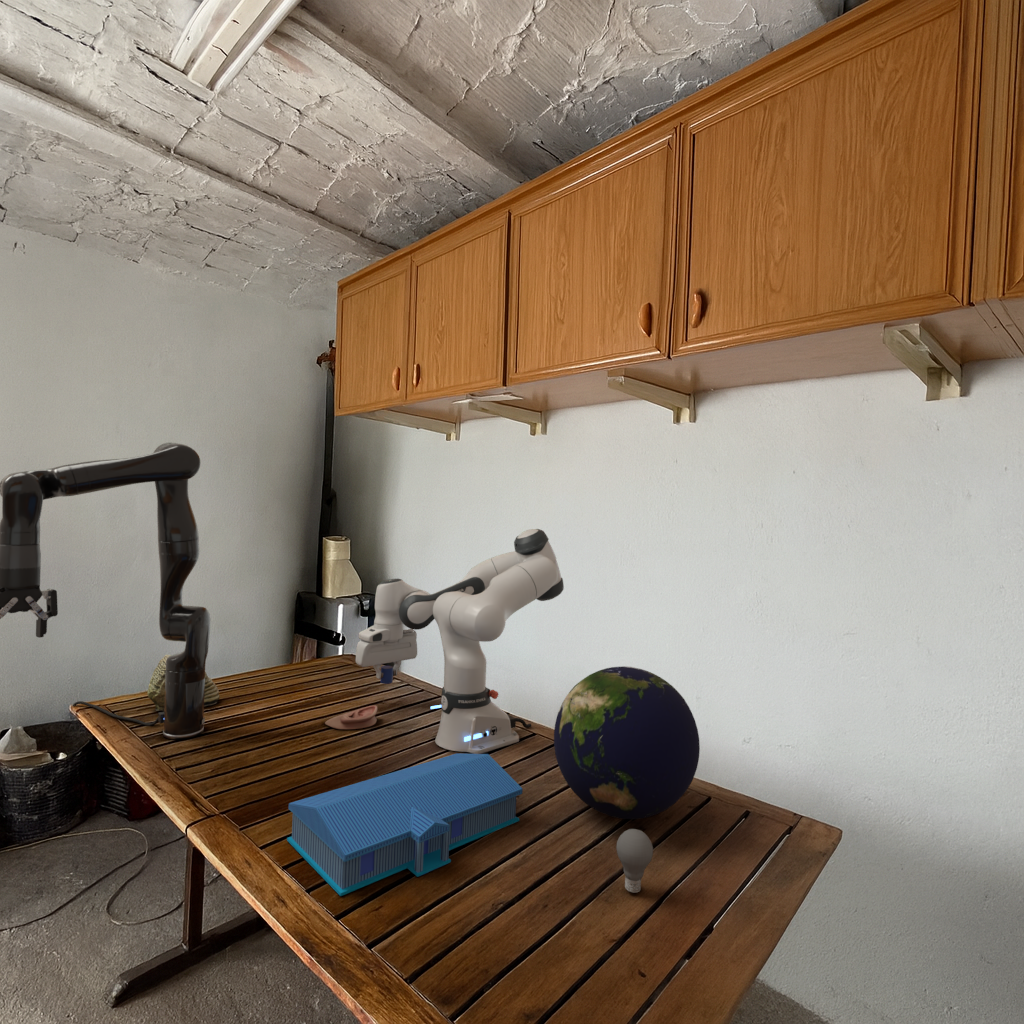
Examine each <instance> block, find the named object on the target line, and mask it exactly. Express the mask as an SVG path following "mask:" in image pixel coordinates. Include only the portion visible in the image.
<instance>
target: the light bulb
mask: <svg viewBox="0 0 1024 1024" xmlns="http://www.w3.org/2000/svg"><path fill="white" fill-rule="evenodd" d="M615 849H616V854H617V857H618V859H619V861H620V863H621V865H622V867H623V873H624V874H623V875H624V876H625V878H624V888H625V890H627V891H628V892H630V893H634V894H635V893H639V892H640V891H641V889H642V887H641V886H642V879H643V877H644V875H645V871H646V868H647V867H648V866H649V864H650V863H651V861H652V859H653V855H654V847H653V843H652V841H651V838H649V836H648V835H647V834H646V833H645V832H643V831H642V830H641V829H636V828H629V829H627V830H625V831H623V832H622V833H621V834H620V835H619V837H618V839H617V841H616V847H615Z"/></svg>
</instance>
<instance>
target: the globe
mask: <svg viewBox="0 0 1024 1024" xmlns="http://www.w3.org/2000/svg"><path fill="white" fill-rule="evenodd" d="M699 735H700V734H699V729H698V726H697V722H696V720H695V717H694V714H693V713H692V710H691V708H690V706H689V704H688V703H687V702H686V700H685V698H684V697H683V696H682V694H681V693H680V692H679V691H678V690H677V688H675V687H674V686H673V685H672V684H670V682H668V681H667V680H665V679H664V678H663V677H661V676H659V675H657V674H656V673H653V672H651V671H648V670H645V669H643V668H639V667H634V666H627V665H625V666H612V667H611V666H610V667H606V668H603V669H600V670H597V671H595V672H593V673H590V674H588V675H587V676H586V677H584V678H583V679H581V680H580V681H579V682H577V683H576V684H575V685H574V686H573V687H572V688H571V689H570V690H569V692H568V693H567V694H566V696H565V698H564V699H563V701H562V703H561V705H560V707H559V710H558V712H557V715H556V718H555V723H554V730H553V746H554V754H555V759H556V762H557V765H558V768H559V770H560V772H561V775H562V776H563V779H564V780H565V782H566V784H567V785H568V787H569V788H570V789H571V791H572V792H573V794H575V795H576V796H577V798H579V800H581V801H582V802H583V803H585V804H586V805H587V806H588V807H591V809H593V810H595V811H596V812H598V813H601V814H603V815H606V816H608V817H612V818H616V819H621V820H641V819H646V818H651V817H653V816H656V815H658V814H661V813H663V812H664V811H666V810H668V809H669V808H671V807H672V806H674V805H675V803H677V802H678V801H679V800H680V799H681V798H682V797H683V796H684V794H685V793H686V792H687V790H688V789H689V787H690V786H691V784H692V782H693V781H694V778H695V775H696V772H697V769H698V766H699V760H700V736H699Z"/></svg>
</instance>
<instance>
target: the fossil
mask: <svg viewBox="0 0 1024 1024" xmlns="http://www.w3.org/2000/svg"><path fill="white" fill-rule="evenodd" d="M171 655H172V654H165V655H164V656H163V657H162V658H161V659H160V660H159V662H158V663H157V666H156V667H155V669H154V670H153V672H152V675H151V677H150V680H149V684H148V688H147V697H148V699H149V700H150V701H152V703H153V704H154V706H155V711H158V712H159V711H160V712H163V711H164V705H165V674H166V660H167V658H168V657H169V656H171ZM220 698H221V696H220V690H219V688H218V686H217V685H216V683H215V682H214V681H213V679H212V678H211V677H209V675H208V674H207V672H206V671H205V693H204V707H207V706H213V705H215V704H217V703H218V701H219V699H220Z"/></svg>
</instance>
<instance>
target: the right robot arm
mask: <svg viewBox="0 0 1024 1024" xmlns="http://www.w3.org/2000/svg"><path fill="white" fill-rule="evenodd" d="M549 540H550V539H549V537H548V535H547V534H546V533H545V530H542V529H539V528H530V529H526V530H524V531H523V532H521V533H520V534H519V535H517V536H516V537H515V539H514V541H513V546H514V551H510V552H505V553H501V554H498V555H496V556H495V555H494V556H492V557H491V558H488V559H485V560H483V561H481V562H480V563H477V564H476V565H474V566H473V567H471V568H470V570H469V571H468V572H467V573H466V575H465V576H464V577H463V578H462V579H461V580H459V581H458V582H456V583H455V584H452V585H450V586H448V587H445V588H443V589H441V590H438V591H436V592H433V593H429V592H428V591H426V590H423V589H420V588H417V587H415V586H412V585H411V584H409V583H407V582H406V581H404V580H403V579H401V578H389V579H386V580H382V581H381V582H380V583H378V585H377V586H376V590H375V598H374V611H375V617H374V621H373V625H371V626H370V627H367V628H365V629H363V630H361V631H360V632H358V639H359V641H358V642H357V645H356V649H355V664H357V666H358V667H361V668H366V667H372V668H373V669H374V671H375V674H376V675H375V677H376V679H377V680H381V678H383V675H384V673H383V672H381V667H382V665H384V664H385V665H386V664H390V663H393V664H394V665H393V666H392V667H393V677H396V676H398V672H399V671H398V670H399V669H400V667H401V665H402V661H407V660H408V661H409V660H414V659H416V658H417V657H418V642H417V638H418V637H417V636H418V635H417V631H416V630H423V629H425V628H427V627H428V626H429V625H430V624H431V623H432V622H433V621H434V620H435V622H436V624H437V627H438V629H439V635H440V639H441V645H442V652H443V658H444V659H443V660H444V662H443V663H444V664H443V666H444V667H443V687H442V688H441V700H440V704H439V705H432V706H430V710H434V709H440V708H441V714H440V721H439V726H438V730H437V733H436V737H435V740H434V742H435V744H436V745H437V746H439V747H440V748H442V749H445V750H448V751H453V752H461V753H462V752H463V753H468V754H486V753H488V752H491V751H494V750H497V749H500V748H503V747H507V746H510V745H512V744H516V743H519V741H520V735H519V733H517V732H516V730H514V729H515V728H516V727H517V723H520V724H521V725H522V726H523V727H524V728H525V729H529V728H532V723H526V721H525V720H524V719H522V718H520V717H514V716H512V715H510V714H509V713H506V712H505V711H504V710H503V709H502V708H500V707H499V706H498V705H497V704H496V703H494V702H493V701H492V700H491V698H492V699H493V700H496V699H498V697H499V692H498V691H497V690H495V689H490V688H489V687H487V686H486V685H487V684H486V683H487V682H486V681H487V664H488V663H487V662H488V661H487V657H486V655H485V653H484V651H483V650H482V646H481V643H480V642H483V643H486V642H493V641H495V640H497V639H498V638H499V637H500V636H501V635H502V634H503V632H504V630H505V628H506V621H507V620H509V618H510V617H511V616H512V615H513V614H515V613H517V612H518V611H519V610H520V609H523V608H524V607H526V606H528V605H530V604H531V603H532V602H533V601H535V600H537V601H540V602H546V601H550V600H553V599H556V598H557V597H559V595H561V594H562V592H563V591H564V589H565V588H564V587H565V586H564V579H563V577H562V576H561V570H560V567H559V564H558V560H557V557H556V556H557V555H556V553H555V552H554V549H553V547H552V545H551V542H550V541H549ZM404 626H405V627H406V628H408V629H404Z"/></svg>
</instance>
